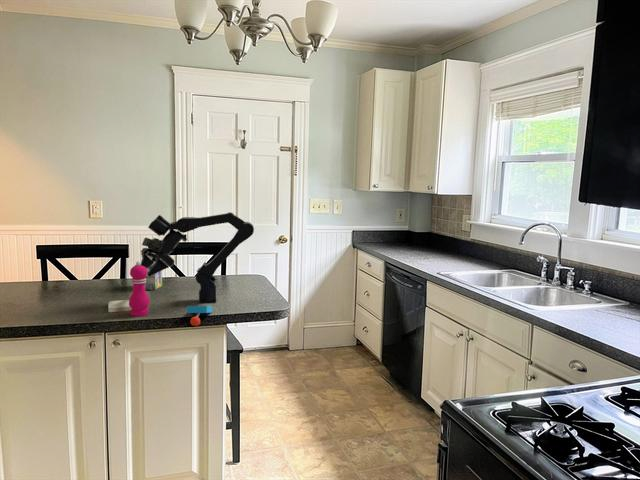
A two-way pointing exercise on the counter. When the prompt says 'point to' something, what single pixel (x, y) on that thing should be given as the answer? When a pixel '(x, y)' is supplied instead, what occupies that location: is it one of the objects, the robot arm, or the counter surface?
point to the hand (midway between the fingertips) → (143, 273)
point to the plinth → (119, 306)
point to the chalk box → (153, 279)
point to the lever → (198, 309)
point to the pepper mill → (139, 291)
